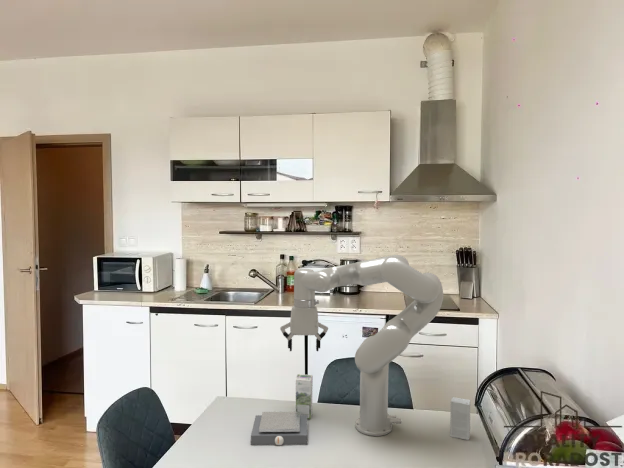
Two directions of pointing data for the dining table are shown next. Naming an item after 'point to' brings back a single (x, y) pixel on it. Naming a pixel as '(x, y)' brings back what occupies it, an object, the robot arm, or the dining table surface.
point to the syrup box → (304, 394)
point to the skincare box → (460, 418)
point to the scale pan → (280, 422)
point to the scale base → (279, 434)
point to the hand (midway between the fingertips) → (304, 350)
